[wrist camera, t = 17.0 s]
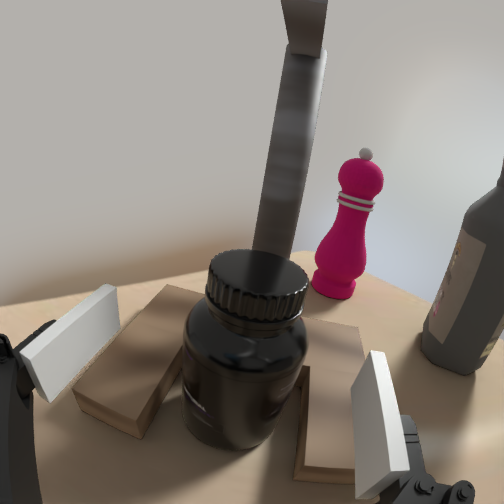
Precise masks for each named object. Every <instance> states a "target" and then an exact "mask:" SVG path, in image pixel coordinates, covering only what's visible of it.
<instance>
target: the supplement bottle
mask: <svg viewBox="0 0 504 504" xmlns="http://www.w3.org/2000/svg"><path fill="white" fill-rule="evenodd" d="M308 286H309V279H308V277H307V274H306V273H305V271H304V270H303V269H302V268H301V267H300V266H298V265H297V264H295V263H294V262H292V261H290V260H289V259H287V258H284V257H282V256H279V255H275V254H273V253H268V252H265V251H259V250H250V249H237V250H230V251H224V252H223V253H219V254H218V255H216V256H215V257H214V258H213V259H212V260H211V263H210V266H209V272H208V281H207V284H206V288H205V297H203V298H202V299H200V300H199V301H198V302H197V303H196V304H195V305H194V306H193V307H192V308H191V310H190V311H189V313H188V314H187V317H186V319H185V323H184V330H183V351H182V413H183V418H184V421H185V423H186V425H187V427H188V428H189V430H190V431H191V432H192V433H193V434H194V435H195V436H196V437H197V438H198V439H199V440H201V441H202V442H204V443H206V444H208V445H210V446H212V447H215V448H218V449H223V450H231V451H236V450H244V449H249V448H252V447H254V446H257V445H258V444H260V443H262V442H263V441H265V440H266V439H267V438H268V437H269V436H270V435H271V433H272V432H273V430H274V429H275V427H276V425H277V423H278V421H279V419H280V416H281V414H282V412H283V410H284V408H285V405H286V403H287V401H288V399H289V396H290V394H291V392H292V389H293V387H294V385H295V382H296V380H297V378H298V375H299V373H300V370H301V368H302V365H303V363H304V360H305V358H306V355H307V351H308V348H309V335H308V331H307V328H306V325H305V323H304V321H303V319H302V318H301V314H302V311H303V308H304V300H305V297H306V293H307V290H308Z"/></svg>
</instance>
